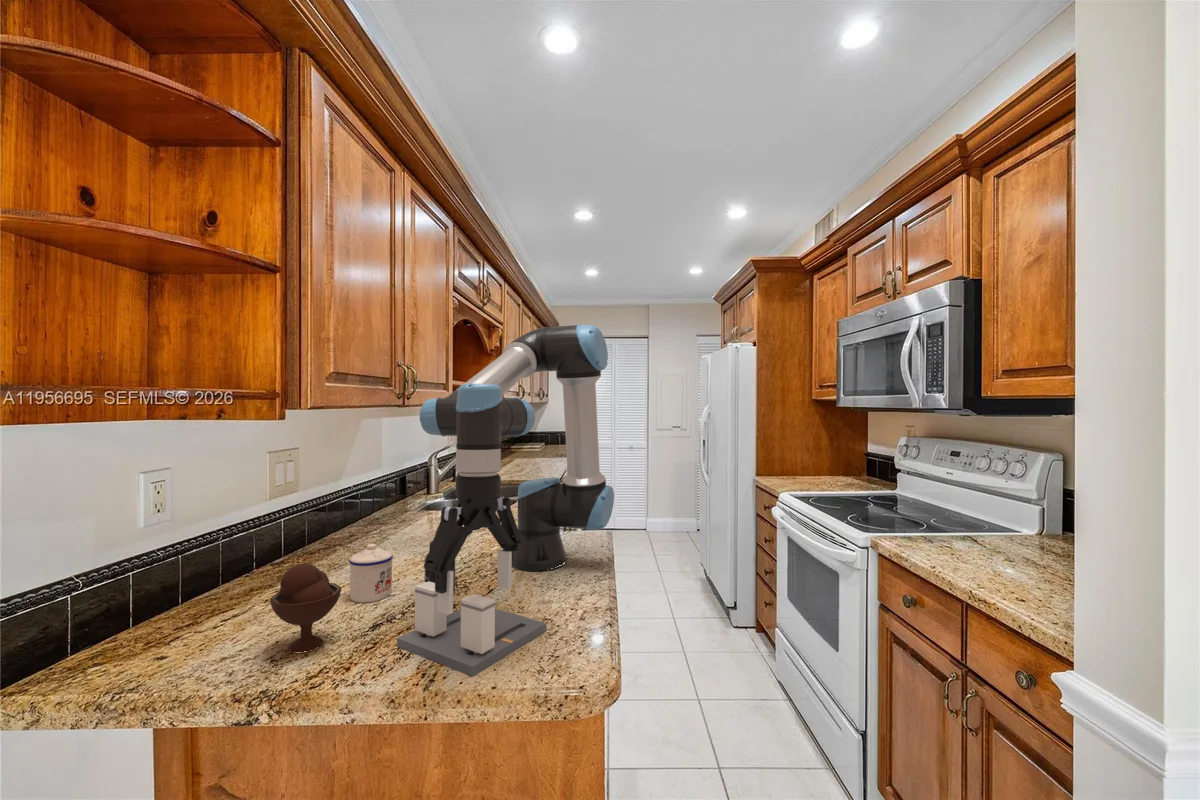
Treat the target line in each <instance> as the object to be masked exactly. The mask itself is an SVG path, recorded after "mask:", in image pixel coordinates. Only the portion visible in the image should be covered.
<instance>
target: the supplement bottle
mask: <svg viewBox="0 0 1200 800" xmlns="http://www.w3.org/2000/svg"><path fill="white" fill-rule="evenodd" d="M432 542H433V540H431V541H430V542H429V545H428V546H429V547H428V548H429V549H428V551H429V550H430V547H431V545H432ZM427 555H428V553H426V556H425V558H424V562H425V561H426V558H427ZM433 562H434V561H433ZM443 564H444V563H443ZM449 570H450V571H453V594H454V592H455V591H456V559H455V560H454V562H453V564H452V566H451V567H450V569H449ZM423 577H424V581H423V583H426V582H428V581H429V582H433V583H435V572H434V571H431V570H427V569H424V575H423Z"/></svg>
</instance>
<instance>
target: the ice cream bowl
mask: <svg viewBox="0 0 1200 800" xmlns="http://www.w3.org/2000/svg"><path fill="white" fill-rule="evenodd" d="M279 585H280V587H279V591H278V592H276V593H275V594H274V595H273V596H272V597H270V598H269V601H270V606H271V608H272V611H273V612H274V613H275V615H276V616H277V617H278V618H280V619H281V620H282V621H284V622H285V623H286V624H289V625H291V626H292V625H293V626H299V628H300V636H299V637H298V638H297V639H295V640H293V641H292V643H290V645H289V646H288V648H287V650H288V649H290V651H291V652H304V651H310V650H313V649H315V648H317V647H319V648H321V647H322V646H323V645H324V643H325V641H324V639H323V638H322V637H321V636H318V635H315V634H313V625H314V624H315V623H316V622H318V621H321V620H322V619H323V618H324V617H326V616H327V615H328V614H329V613H330V611H331V610H332V609H333V608H334V607H335V605H336V604H337V603H338V601H339V599H340V596H341V592H342V587H341V586H340V585H338V584H336V583H333V582H330V579H329V577H328V574H327V573H325V572H324V571H323V570H321V569H319V568H318V567H317V566H316V565H314V564H311V563H308V562H304V563H299V564H298V563H297V564H296V565H293V566H291V567H290V568H288V569H287V570H286V571H285V572H284V573H283V575H282V577H281V578H280V583H279ZM323 642H324V643H323ZM321 645H322V646H321ZM320 646H321V647H320ZM317 649H318V648H317ZM315 650H316V649H315ZM290 651H289V652H290ZM313 651H314V650H313ZM291 652H290V653H291ZM310 652H311V651H310Z"/></svg>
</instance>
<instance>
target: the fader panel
mask: <svg viewBox="0 0 1200 800" xmlns="http://www.w3.org/2000/svg"><path fill="white" fill-rule="evenodd" d="M546 632H547V622H543V621H539V620H537V619H533V618H529V617H526V616H521V615H518V614H515V613H513V612H509V611H505V610H501V609H498V608H495V647H493V648H492V649H490V650H488V651H486V652H485V653H483V654H480V653H476V654H474V653H473V651H472V650H469V649H466V648H463V647H461V609H459V610H457V611H455V612H454V611H453V613H451V614H447V630H446V631H444V632H442V633H440V634H438V635H436V636H427V634H425V633H422V632H419V631H416V630H415V629H414V630H412V631H410V632H407V633H405V634H402V635H401V636H398V637H396V647H397V646H398V647H397V648H400V649H403V650H405V651H407V652H410V653H413V654H415V655H418V656H419V657H422V658H425V659H428V660H431V661H432V662H436V663H438V664H441V665H442V666H445V667H448V668H450V669H453V670H456V671H458V672H461V673H463V674H465V675H467V676H471V677H474V676H475V675H477V674H479V673H480V672H482V671H484V670H485V669H487V668H489V667H490V666H492V665H493V664H495V663H497V662H498V661H500V660H502V659H503V658H505V657H507V656H508V655H510V654H511V653H514V652H516V650H518V649H520V648H521V647H523V646H525V645H526V644H528V643H529V642H531V641H533V640H535V639H536V638H537V637H539V636H540V635H542V634H544V633H546Z"/></svg>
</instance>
